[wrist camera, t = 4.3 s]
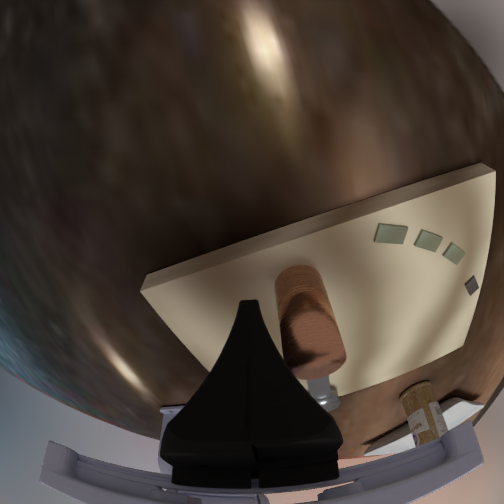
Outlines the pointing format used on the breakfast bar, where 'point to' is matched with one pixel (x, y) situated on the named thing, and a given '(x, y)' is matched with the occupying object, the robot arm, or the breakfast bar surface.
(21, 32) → the breakfast bar surface
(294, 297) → the lever
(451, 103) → the breakfast bar surface
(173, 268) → the gauge board
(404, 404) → the sprinkles bottle
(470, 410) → the salad plate
